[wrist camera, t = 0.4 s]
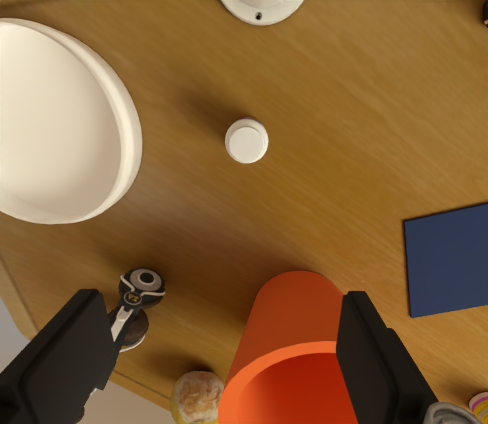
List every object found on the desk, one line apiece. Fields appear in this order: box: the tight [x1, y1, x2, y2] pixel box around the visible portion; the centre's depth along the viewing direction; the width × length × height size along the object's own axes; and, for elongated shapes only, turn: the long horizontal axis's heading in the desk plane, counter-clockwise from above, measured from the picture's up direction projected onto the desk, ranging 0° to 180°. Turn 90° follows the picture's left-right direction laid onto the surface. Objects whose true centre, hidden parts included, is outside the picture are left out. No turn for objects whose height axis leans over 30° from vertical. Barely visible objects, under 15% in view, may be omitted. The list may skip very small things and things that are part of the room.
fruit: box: [170, 371, 225, 424], centre depth 54 cm, size 10×11×10 cm
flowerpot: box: [218, 270, 358, 424], centre depth 43 cm, size 25×25×20 cm
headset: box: [74, 268, 165, 424], centre depth 43 cm, size 17×8×20 cm, turn 154°
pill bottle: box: [225, 117, 268, 163], centre depth 36 cm, size 5×5×10 cm
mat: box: [404, 203, 488, 318], centre depth 47 cm, size 20×20×1 cm
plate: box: [0, 18, 142, 224], centre depth 39 cm, size 27×27×5 cm
